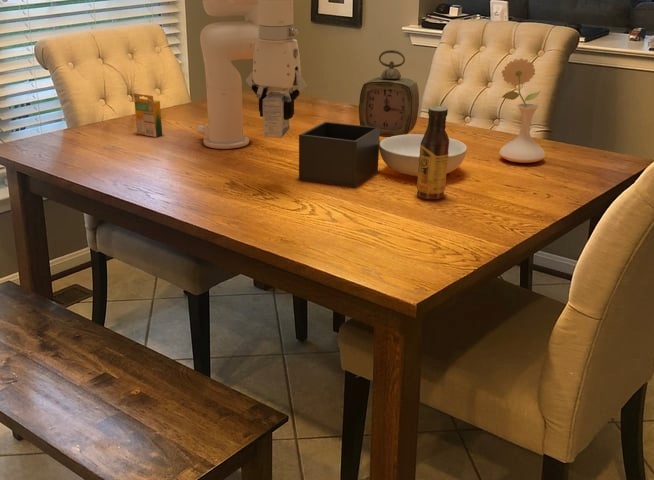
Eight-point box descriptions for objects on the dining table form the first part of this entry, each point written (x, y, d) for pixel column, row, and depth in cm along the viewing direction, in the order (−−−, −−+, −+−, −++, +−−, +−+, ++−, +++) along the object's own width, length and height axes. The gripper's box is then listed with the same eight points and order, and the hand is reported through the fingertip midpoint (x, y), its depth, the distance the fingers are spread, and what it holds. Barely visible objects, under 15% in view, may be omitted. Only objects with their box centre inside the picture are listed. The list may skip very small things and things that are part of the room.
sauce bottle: (413, 192, 185) (419, 104, 176) (440, 191, 185) (447, 103, 176) (420, 201, 179) (426, 111, 170) (447, 201, 180) (455, 110, 171)
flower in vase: (547, 157, 210) (561, 56, 199) (540, 168, 201) (554, 64, 190) (497, 151, 215) (507, 53, 204) (487, 162, 206) (498, 60, 195)
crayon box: (163, 135, 233) (159, 94, 228) (156, 137, 231) (152, 96, 226) (143, 132, 237) (140, 91, 231) (136, 134, 234) (133, 93, 229)
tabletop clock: (357, 147, 220) (360, 51, 209) (367, 139, 228) (370, 46, 216) (409, 152, 215) (415, 54, 204) (417, 144, 223) (424, 49, 211)
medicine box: (282, 138, 181) (282, 99, 177) (262, 137, 182) (262, 98, 178) (289, 129, 188) (289, 91, 184) (270, 128, 189) (270, 90, 185)
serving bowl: (411, 190, 186) (412, 160, 183) (362, 167, 203) (363, 140, 200) (482, 177, 195) (485, 148, 192) (430, 156, 212) (431, 130, 208)
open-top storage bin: (298, 179, 194) (298, 134, 189) (324, 164, 206) (324, 121, 201) (355, 187, 188) (356, 141, 183) (378, 171, 200) (380, 127, 195)
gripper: (319, 33, 174) (317, 117, 183) (249, 27, 181) (251, 109, 190) (303, 38, 169) (303, 125, 177) (232, 32, 175) (235, 116, 184)
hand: (276, 116), depth 183 cm, fingers closed on medicine box, 5 cm apart
